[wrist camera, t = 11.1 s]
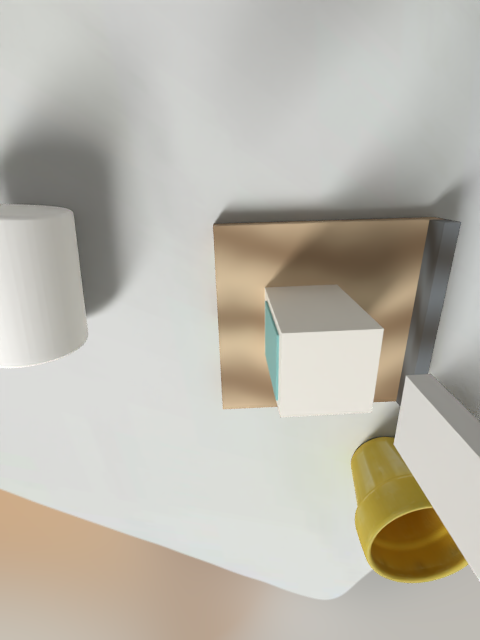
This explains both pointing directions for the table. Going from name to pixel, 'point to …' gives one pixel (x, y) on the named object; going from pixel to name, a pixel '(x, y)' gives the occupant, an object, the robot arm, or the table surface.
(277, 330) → the carton
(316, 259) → the shelf board
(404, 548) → the plant pot
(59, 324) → the mug
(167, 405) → the table surface
